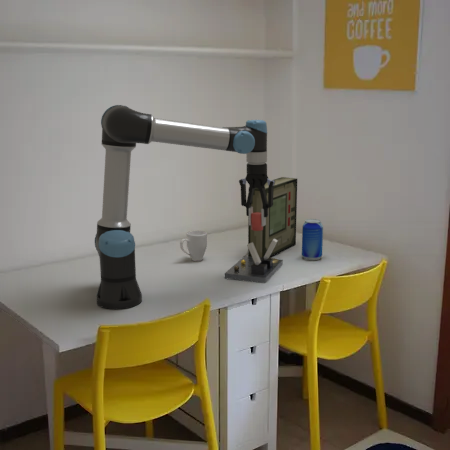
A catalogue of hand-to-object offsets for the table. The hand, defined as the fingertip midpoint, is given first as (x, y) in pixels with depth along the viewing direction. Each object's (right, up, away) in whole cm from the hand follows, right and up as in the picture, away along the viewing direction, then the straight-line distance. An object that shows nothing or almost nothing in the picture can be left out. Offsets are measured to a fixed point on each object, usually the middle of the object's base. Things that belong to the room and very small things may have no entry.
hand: (257, 224), depth 235 cm
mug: (-25, -15, +24) cm, 37 cm away
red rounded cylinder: (0, -2, 0) cm, 2 cm away
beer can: (+24, -14, +27) cm, 38 cm away
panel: (-1, -18, +9) cm, 20 cm away
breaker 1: (+1, -15, +1) cm, 15 cm away
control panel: (+9, -12, +36) cm, 39 cm away
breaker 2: (+3, -13, +8) cm, 16 cm away
